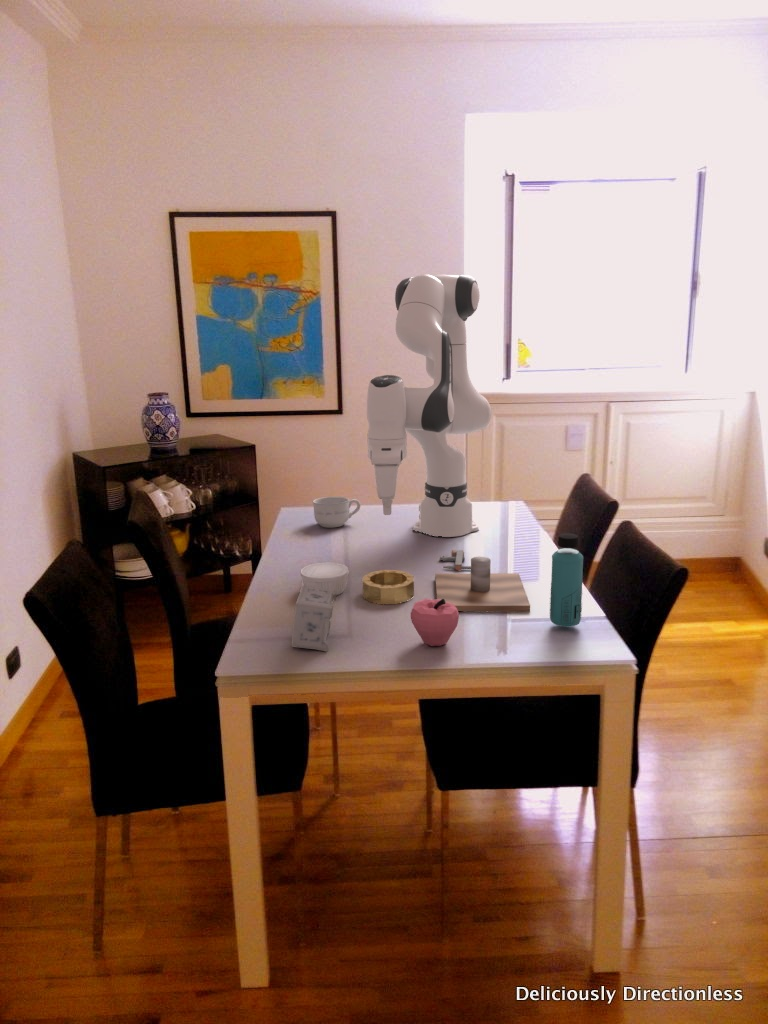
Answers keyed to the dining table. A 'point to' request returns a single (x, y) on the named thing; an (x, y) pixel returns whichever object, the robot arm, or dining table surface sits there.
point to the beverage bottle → (566, 582)
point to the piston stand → (483, 589)
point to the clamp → (455, 556)
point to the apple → (434, 620)
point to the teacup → (333, 510)
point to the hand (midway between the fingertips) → (388, 508)
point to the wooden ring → (388, 586)
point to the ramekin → (325, 576)
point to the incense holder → (313, 618)
